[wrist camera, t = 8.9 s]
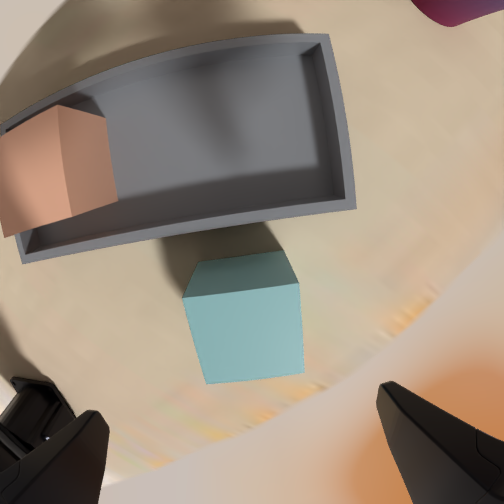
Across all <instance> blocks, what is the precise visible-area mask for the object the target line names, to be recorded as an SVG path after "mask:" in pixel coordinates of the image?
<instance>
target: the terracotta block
mask: <svg viewBox="0 0 504 504" xmlns="http://www.w3.org/2000/svg"><path fill="white" fill-rule="evenodd" d="M117 201H118V197H117V192H116V186H115V181H114V175H113V169H112V163H111V156H110V149H109V142H108V134H107V125H106V118H104V117H101V116H97V115H94V114H90V113H87V112H83V111H80V110H76V109H72V108H68V107H65V106H61V105H56V106H54V107H52V108H50V109H48V110H46V111H44V112H42V113H40V114H38V115H36V116H35V117H33V118H31V119H29V120H27V121H26V122H24V123H22V124H20V125H19V126H17V127H15V128H14V129H12V130H11V131H9V132H7V133H6V134H4V135H3V136H1V137H0V221H1V225H2V230H3V234H4V238H6V237H9V236H11V235H14V234H17V233H21V232H24V231H27V230H30V229H33V228H36V227H39V226H43V225H46V224H49V223H53V222H56V221H59V220H63V219H66V218H70V217H73V216H76V215H79V214H82V213H84V212H87V211H90V210H93V209H96V208H99V207H102V206H105V205H108V204H111V203H114V202H117Z"/></svg>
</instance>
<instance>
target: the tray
mask: <svg viewBox="0 0 504 504" xmlns="http://www.w3.org/2000/svg"><path fill="white" fill-rule="evenodd" d="M56 105H61V106H65V107H68V108H72V109H76V110H80V111H83V112H87V113H90V114H94V115H97V116H101V117H104V118H106V125H107V134H108V142H109V149H110V156H111V163H112V169H113V175H114V181H115V186H116V192H117V197H118V201H117V202H114V203H111V204H108V205H105V206H102V207H99V208H96V209H93V210H90V211H87V212H84V213H82V214H79V215H76V216H73V217H70V218H66V219H63V220H59V221H56V222H53V223H49V224H46V225H43V226H39V227H36V228H33V229H30V230H27V231H24V232H21V233H17V234H14V235H15V239H16V243H17V247H18V250H19V254H20V258H21V261H22V264H26V263H31V262H36V261H40V260H45V259H50V258H55V257H60V256H65V255H70V254H75V253H80V252H85V251H90V250H95V249H101V248H106V247H111V246H117V245H122V244H127V243H133V242H139V241H144V240H150V239H156V238H161V237H167V236H173V235H179V234H185V233H191V232H197V231H204V230H210V229H216V228H223V227H229V226H236V225H242V224H249V223H256V222H263V221H270V220H277V219H284V218H291V217H298V216H306V215H313V214H321V213H329V212H337V211H345V210H353V209H357V207H356V194H355V183H354V173H353V164H352V155H351V147H350V140H349V133H348V126H347V120H346V114H345V108H344V102H343V96H342V91H341V86H340V81H339V76H338V71H337V67H336V62H335V58H334V54H333V49H332V45H331V41H330V37H329V34H275V35H261V36H251V37H242V38H234V39H226V40H220V41H214V42H208V43H202V44H197V45H192V46H188V47H183V48H179V49H174V50H170V51H166V52H163V53H159V54H155V55H152V56H148V57H145V58H141V59H138V60H135V61H132V62H129V63H126V64H123V65H120V66H117V67H114V68H112V69H109V70H106V71H104V72H101V73H98V74H96V75H93V76H91V77H89V78H86V79H84V80H82V81H79V82H77V83H75V84H73V85H70V86H68V87H66V88H64V89H62V90H60V91H58V92H56V93H54V94H52V95H50V96H48V97H46V98H44V99H42V100H41V101H39V102H37V103H35V104H33V105H32V106H30V107H28V108H26V109H25V110H23V111H21V112H20V113H18V114H16V115H15V116H13V117H12V118H10V119H8V120H7V121H5V122H4V123H2V124H1V125H0V131H1V136H3V135H4V134H6V133H7V132H9V131H11V130H12V129H14V128H15V127H17V126H19V125H20V124H22V123H24V122H26V121H27V120H29V119H31V118H33V117H35V116H36V115H38V114H40V113H42V112H44V111H46V110H48V109H50V108H52V107H54V106H56Z"/></svg>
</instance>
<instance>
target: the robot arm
mask: <svg viewBox="0 0 504 504" xmlns="http://www.w3.org/2000/svg"><path fill="white" fill-rule="evenodd" d="M10 381H11V383H12V385H13V387H14V388H15V390H16V391H17V394H16V395H15V397H14V398H13V399H12V401H11V402H10V403H9V405H8V406H7V407H6V409H5V410H4V411H3V413H2V414H1V415H0V504H98V500H99V495H100V490H101V485H102V481H103V476H104V471H105V465H106V457H107V449H108V441H109V433H110V430H109V426H108V424H107V423H106V421H105V420H104V418H103V417H102V415H101V414H100V412H98V411H96V410H86V411H85V412H84V413H82V414H81V415H80V416H78V417H77V418H75V416H74V415H73V414H72V412H71V411H70V409H69V408H68V406H67V405H66V403H65V401H64V400H63V398H62V397H61V395H60V394H59V392H58V390H57V389H56V387H55V386H54V385H53V384H51V383H48V382H40V381H34V380H28V379H22V378H16V377H12V378H11V380H10ZM376 405H377V410H378V413H379V416H380V419H381V423H382V426H383V429H384V432H385V435H386V439H387V442H388V445H389V448H390V450H391V453H392V455H393V457H394V460H395V462H396V464H397V466H398V469H399V471H400V473H401V476H402V478H403V480H404V483H405V485H406V487H407V490H408V492H409V495H410V497H411V499H412V502H413V504H504V441H501V440H499V439H496V438H494V437H492V436H490V435H488V434H486V433H484V432H482V431H481V430H479V429H476V428H475V427H473V426H471V425H469V424H467V423H466V422H464V421H462V420H460V419H458V418H457V417H455V416H453V415H451V414H449V413H447V412H446V411H444V410H442V409H440V408H439V407H437V406H435V405H433V404H432V403H430V402H428V401H426V400H425V399H423V398H421V397H419V396H418V395H416V394H414V393H412V392H411V391H409V390H407V389H406V388H404V387H402V386H401V385H399V384H397V383H396V382H394V381H389V382H385V383H382V384H380V386H379V389H378V396H377V400H376Z"/></svg>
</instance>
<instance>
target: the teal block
mask: <svg viewBox="0 0 504 504" xmlns="http://www.w3.org/2000/svg"><path fill="white" fill-rule="evenodd" d="M182 299H183V303H184V307H185V311H186V315H187V319H188V323H189V326H190V330H191V334H192V337H193V341H194V345H195V348H196V352H197V355H198V358H199V362H200V365H201V368H202V372H203V375H204V378H205V381H206V384H215V383H228V382H239V381H249V380H257V379H265V378H273V377H280V376H287V375H293V374H299V373H305V371H304V350H303V333H302V317H301V302H300V289H299V282H298V280H297V278H296V275H295V273H294V271H293V269H292V267H291V265H290V263H289V260H288V258H287V256H286V254H285V252H284V250H282V251H275V252H267V253H260V254H253V255H245V256H238V257H231V258H223V259H216V260H209V261H201V262H198V264H197V266H196V268H195V271H194V273H193V275H192V277H191V279H190V282H189V284H188V286H187V288H186V291H185V293H184V295H183V297H182Z"/></svg>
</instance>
